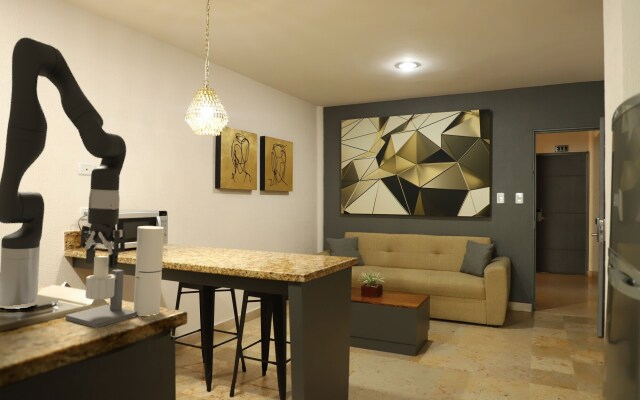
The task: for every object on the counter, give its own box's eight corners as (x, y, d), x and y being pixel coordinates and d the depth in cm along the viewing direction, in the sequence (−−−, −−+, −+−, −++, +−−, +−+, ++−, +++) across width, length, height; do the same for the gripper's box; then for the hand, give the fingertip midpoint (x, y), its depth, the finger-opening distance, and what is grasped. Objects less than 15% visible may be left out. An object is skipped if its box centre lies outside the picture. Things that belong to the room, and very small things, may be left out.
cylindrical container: (150, 317, 126) (155, 229, 126) (128, 314, 128) (132, 227, 127) (164, 311, 133) (168, 227, 133) (142, 308, 135) (147, 225, 134)
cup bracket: (65, 319, 120) (67, 273, 120) (106, 308, 132) (108, 266, 132) (96, 328, 115) (99, 279, 115) (136, 315, 127) (138, 272, 127)
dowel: (89, 293, 122) (91, 257, 121) (101, 291, 125) (102, 255, 125) (99, 295, 120) (100, 258, 120) (110, 292, 124) (111, 256, 123)
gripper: (73, 204, 122) (71, 264, 122) (111, 208, 116) (108, 271, 116) (97, 204, 128) (95, 260, 129) (134, 208, 122) (131, 267, 123)
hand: (101, 265), depth 123 cm, fingers open, 8 cm apart
